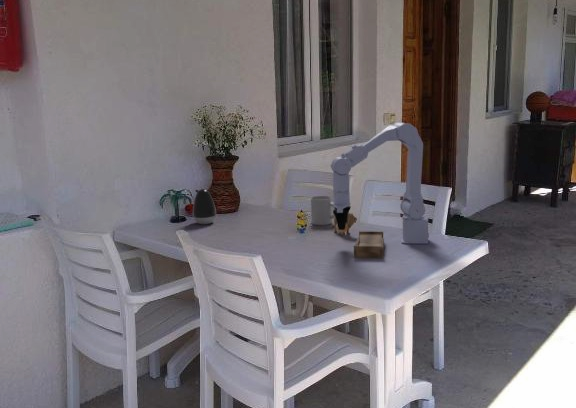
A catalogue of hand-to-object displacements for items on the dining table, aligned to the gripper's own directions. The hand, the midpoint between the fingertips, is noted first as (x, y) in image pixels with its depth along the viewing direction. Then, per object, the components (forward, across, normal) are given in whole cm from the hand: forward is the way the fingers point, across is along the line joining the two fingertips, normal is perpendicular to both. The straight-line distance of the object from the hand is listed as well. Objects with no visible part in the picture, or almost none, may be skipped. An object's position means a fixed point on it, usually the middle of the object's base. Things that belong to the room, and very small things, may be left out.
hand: (342, 227), depth 214 cm
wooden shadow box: (+7, +3, +10) cm, 13 cm away
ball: (0, 0, 0) cm, 0 cm away
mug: (+7, -35, -11) cm, 37 cm away
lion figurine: (+7, -20, -2) cm, 21 cm away
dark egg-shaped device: (+7, -34, -64) cm, 73 cm away
